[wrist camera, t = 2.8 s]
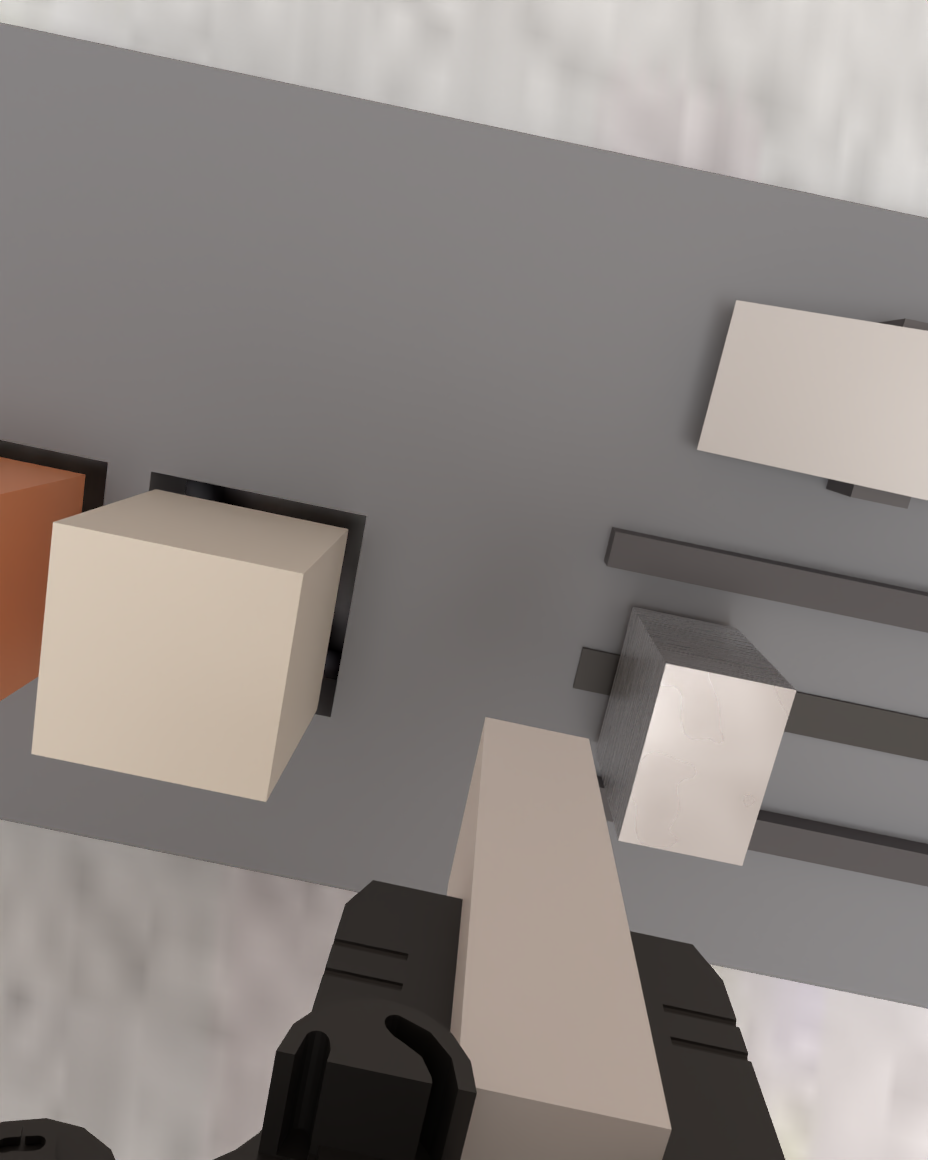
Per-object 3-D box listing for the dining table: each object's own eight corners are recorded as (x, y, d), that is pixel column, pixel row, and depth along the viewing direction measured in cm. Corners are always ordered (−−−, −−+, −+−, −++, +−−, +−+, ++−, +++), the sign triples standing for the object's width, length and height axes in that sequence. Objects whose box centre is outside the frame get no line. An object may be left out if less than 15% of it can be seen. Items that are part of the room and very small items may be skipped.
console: (-118, 740, 24) (-231, 807, 21) (-82, 35, 20) (-216, -44, 16) (998, 969, 25) (1089, 1077, 21) (1257, 317, 20) (1430, 303, 17)
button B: (133, 672, 20) (30, 753, 16) (155, 489, 19) (52, 521, 15) (317, 709, 20) (265, 802, 16) (348, 529, 19) (303, 574, 15)
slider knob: (595, 752, 20) (618, 840, 16) (632, 606, 20) (666, 663, 16) (695, 773, 20) (742, 865, 16) (737, 628, 20) (796, 689, 16)
